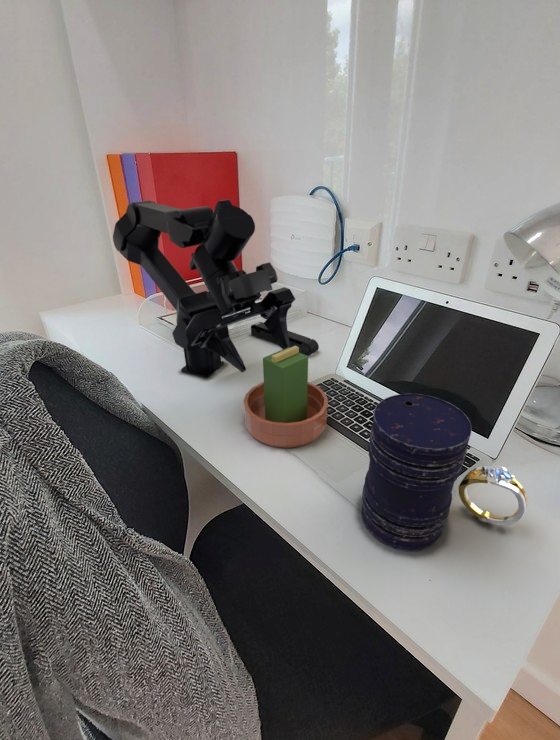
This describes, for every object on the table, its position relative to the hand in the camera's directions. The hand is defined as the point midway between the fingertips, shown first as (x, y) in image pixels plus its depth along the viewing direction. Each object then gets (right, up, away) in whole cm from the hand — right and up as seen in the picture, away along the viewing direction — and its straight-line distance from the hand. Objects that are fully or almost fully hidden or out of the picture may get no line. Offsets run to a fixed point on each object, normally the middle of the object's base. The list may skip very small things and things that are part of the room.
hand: (267, 361), depth 65 cm
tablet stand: (+3, +5, +27) cm, 28 cm away
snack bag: (+3, -9, +2) cm, 10 cm away
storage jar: (+17, -20, -15) cm, 30 cm away
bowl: (+3, -10, +2) cm, 11 cm away
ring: (+26, -20, -15) cm, 36 cm away
